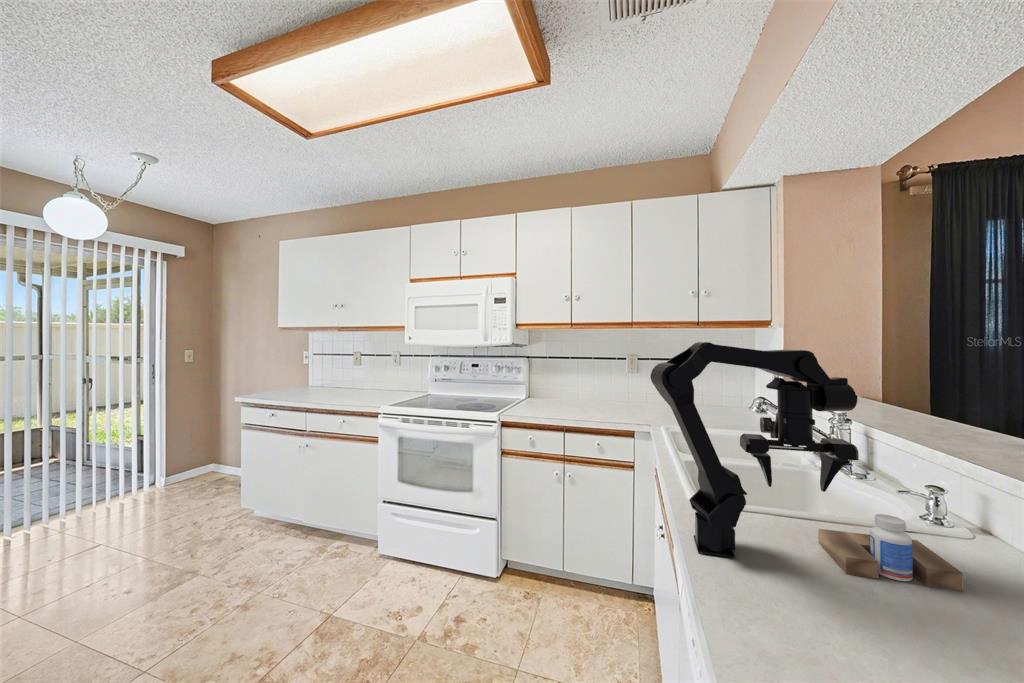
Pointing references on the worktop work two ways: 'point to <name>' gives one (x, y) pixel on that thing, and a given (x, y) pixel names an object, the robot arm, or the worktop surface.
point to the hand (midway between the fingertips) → (795, 488)
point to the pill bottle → (892, 547)
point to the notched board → (858, 560)
